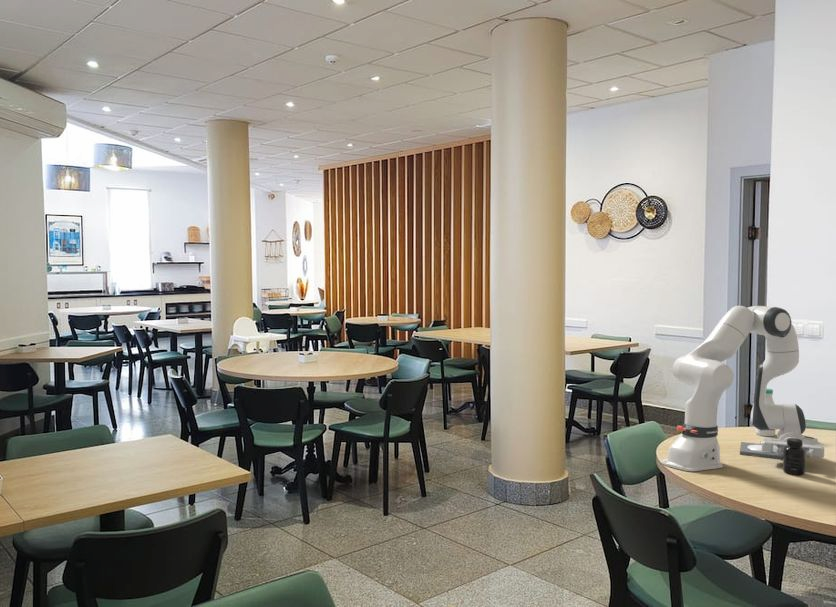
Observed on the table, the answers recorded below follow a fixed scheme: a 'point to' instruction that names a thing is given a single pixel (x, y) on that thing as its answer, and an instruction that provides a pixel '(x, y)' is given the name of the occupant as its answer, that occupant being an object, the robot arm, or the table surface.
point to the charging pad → (757, 451)
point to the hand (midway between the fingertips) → (793, 452)
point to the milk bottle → (770, 402)
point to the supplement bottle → (794, 457)
